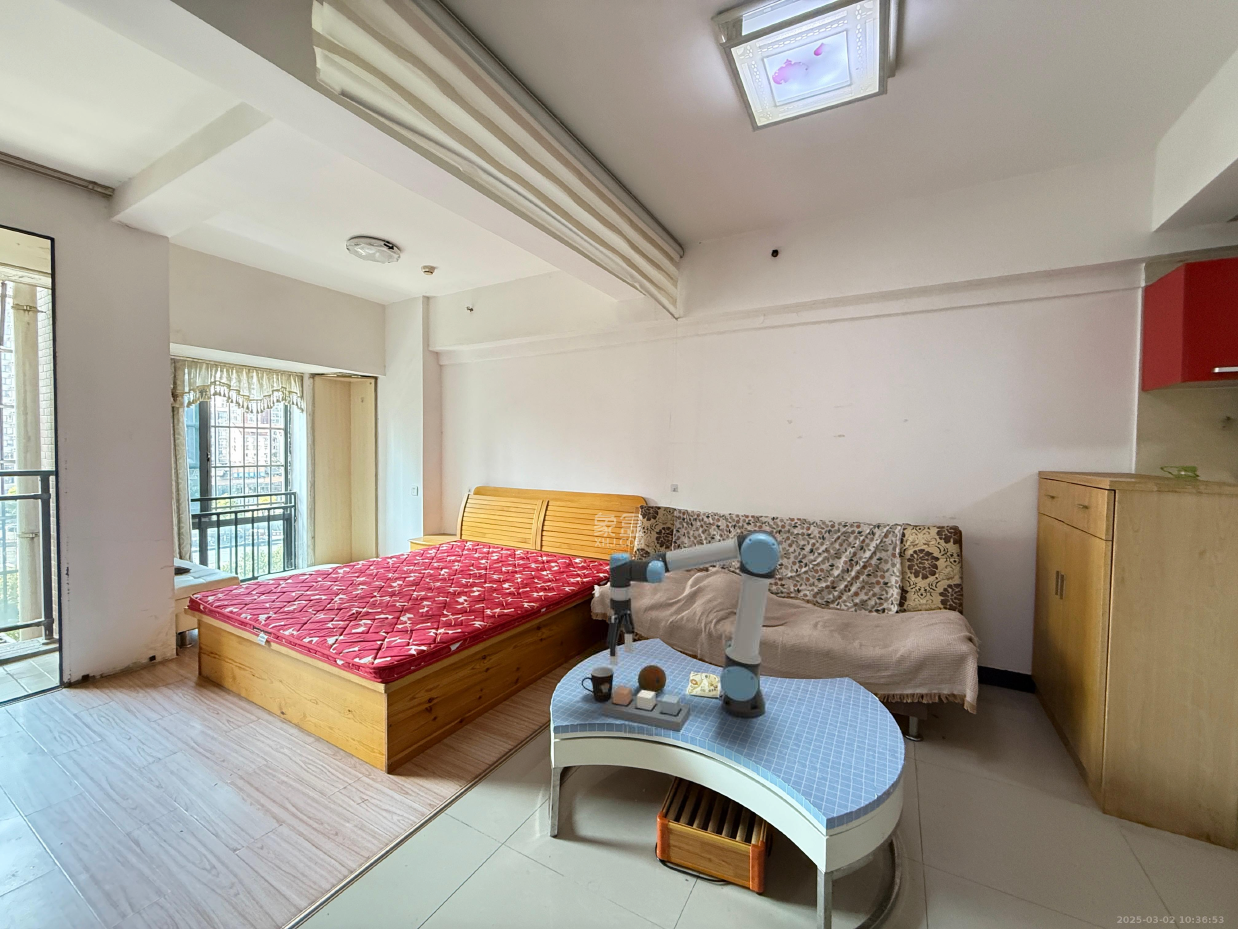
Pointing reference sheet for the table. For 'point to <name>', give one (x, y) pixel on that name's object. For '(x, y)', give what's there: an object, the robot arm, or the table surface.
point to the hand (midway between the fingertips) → (621, 658)
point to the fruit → (652, 678)
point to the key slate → (671, 704)
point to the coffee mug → (601, 683)
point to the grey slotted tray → (647, 714)
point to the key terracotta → (622, 695)
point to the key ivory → (646, 700)
